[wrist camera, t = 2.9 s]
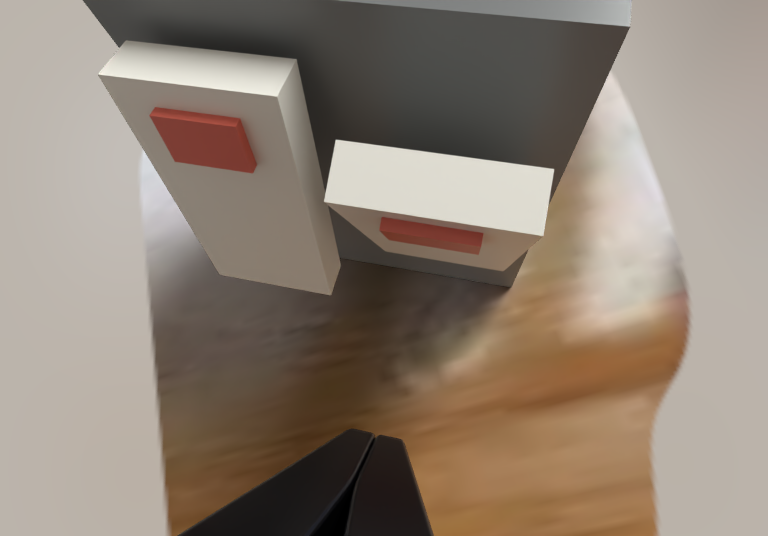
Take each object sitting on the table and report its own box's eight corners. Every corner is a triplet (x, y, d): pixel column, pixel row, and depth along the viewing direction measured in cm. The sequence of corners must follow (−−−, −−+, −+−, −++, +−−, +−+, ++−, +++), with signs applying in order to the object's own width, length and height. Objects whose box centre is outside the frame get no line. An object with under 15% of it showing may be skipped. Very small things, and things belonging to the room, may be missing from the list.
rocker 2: (501, 279, 17) (540, 250, 9) (384, 259, 17) (321, 215, 9) (509, 235, 17) (554, 168, 9) (391, 217, 17) (336, 139, 9)
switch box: (511, 287, 22) (630, 26, 9) (270, 245, 23) (64, -24, 10) (525, 186, 23) (643, -163, 10) (299, 154, 25) (153, -179, 12)
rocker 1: (328, 302, 17) (272, 105, 10) (216, 281, 17) (90, 82, 10) (340, 265, 17) (296, 59, 11) (232, 246, 18) (125, 40, 11)
